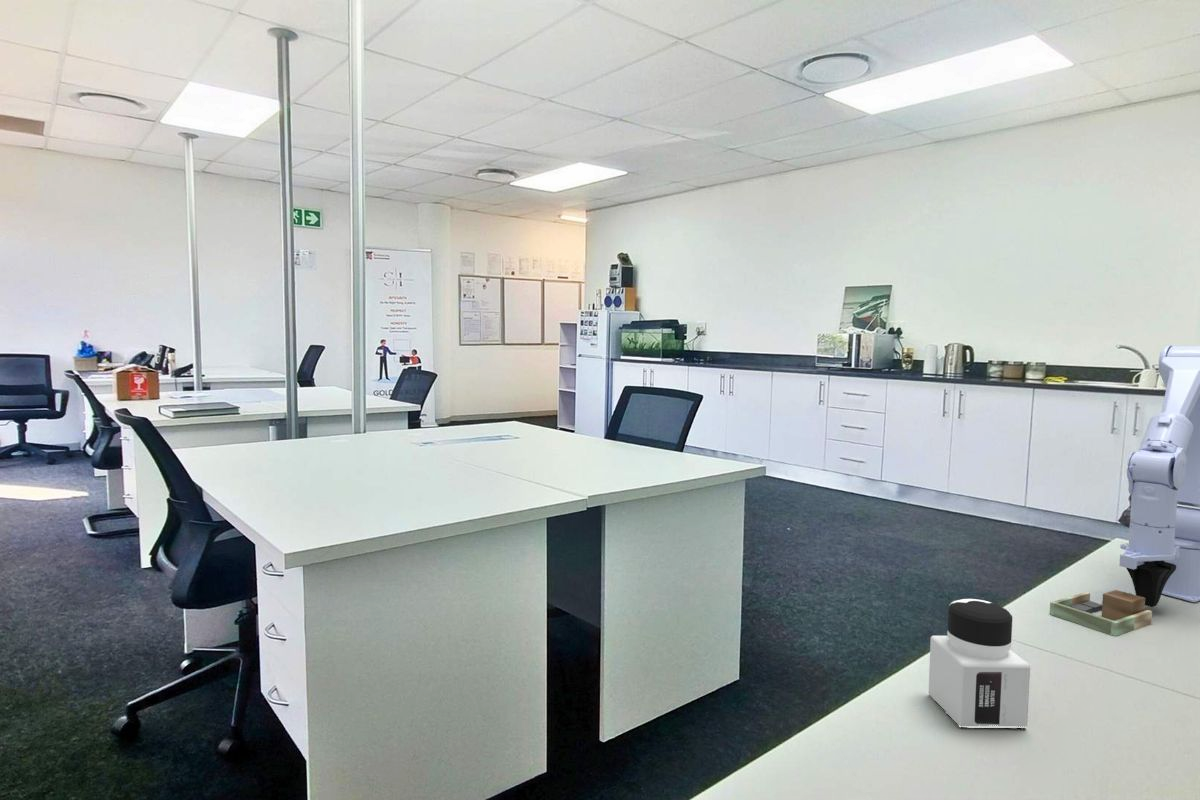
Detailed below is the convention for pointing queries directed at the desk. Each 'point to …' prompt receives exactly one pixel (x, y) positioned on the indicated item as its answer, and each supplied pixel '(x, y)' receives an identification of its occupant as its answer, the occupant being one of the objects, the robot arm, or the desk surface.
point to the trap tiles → (1088, 607)
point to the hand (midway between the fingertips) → (1147, 604)
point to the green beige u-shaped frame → (1096, 622)
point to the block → (1121, 605)
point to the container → (979, 667)
